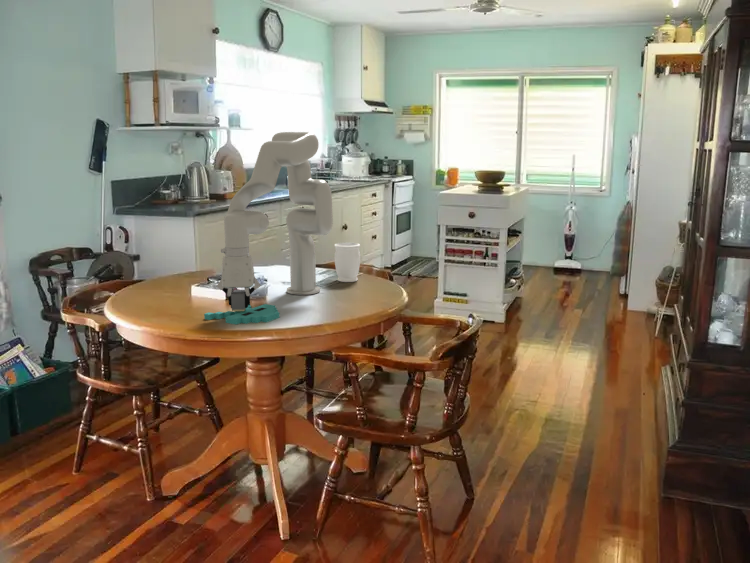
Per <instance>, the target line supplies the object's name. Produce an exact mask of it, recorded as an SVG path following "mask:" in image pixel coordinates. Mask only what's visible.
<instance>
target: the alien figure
mask: <svg viewBox="0 0 750 563" xmlns="http://www.w3.org/2000/svg"><path fill="white" fill-rule="evenodd" d="M203 315H204V316H203V317H204V320H208V321H210V320H213V319H215V320H216V319H217V320H222V319H225V323H226V324H232V325H239V324H245V325H247V324H250V323H253V324H254V323H255V324H258V323H260V322H263V323H269V322H272V321H274V320H277V319H279V318H280V312H279V310H278V308H277V307H276V305H274V304H266V303H264V304H261V305H258V306H255V307H252V305H251V304H250V305H248V308H246V309H245V311H232V310H227V311H225V312H223V311H216V312H205V313H203Z"/></svg>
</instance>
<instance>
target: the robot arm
mask: <svg viewBox="0 0 750 563" xmlns="http://www.w3.org/2000/svg"><path fill="white" fill-rule="evenodd" d="M319 144H320V143H319V139H318V137H317V136H316V135H315V134H314V133H312V132H309V131H302V132H301V131H283V132H281V131H280V132H277V133H275V134H274V135H273V136H272V139H271V140H269V141H266V142H264V143H263V144H262V145H261V146H260V149H259V152H258V154H257V158H256V161H255V165H254V168H253V171H252V174H251V177H250V178H249V180H248V181H247V182H246V183H245V184H244V185H243V186H242V187H241V188H240V189H239V190H238V191H237V192H236V193H235V194H234V196H233V197H232V198H231V200H230V202H229V206H228V209H227V213H226V215H225V216H224V218H223V223H224V224H223V226H224V230H223V231H224V248H220V253H221V254H222V253H223V254H224V256H223V257H222V264H221V279H220V280H219V282H218V283H217V285H216V287H217V289H219V290H221V291H223V292H224V293H225V295H227V297H228V306H230V309H232V304H231V294H232V293H233V291H234V288H235V289H237V288H238V289H240V288H241V289H243V288H244V290H245V292H246V294H245V308H248V305H250V306H251V294H252V293H253V292H254V291H256V290H257V289H259V288H260V287H261V284H260V282H259V281H258V280H257V278H256V276H255V268H254V262H253V257H252V255H250V238H249V237H250V236H249V235H260V234H264V232H266V231H267V230H268V227H269V225H270V221H269V217H268V216H267V215H266V214H265V213H264V212H262V211H258V210H257V211H256V210H246V209H247V207H248V206H249V204H250V203H251V202H252V201H254V200H255V199H258V198H260V197H262V196H263V195H266V194H268V193H270V192H272V191H273V190H275V188H276V185H277V182H278V179H279V176H280V171H281V169H282V167H286V170H287V185H288V188H287V189H288V197H289V200H290V202H291V203H292V204H294V205H297V206H298V205H301V206H313V207H314V208H303V207H298V208H293V209H291V210H290V211H288V213H287V215H286V219H285V220H286V221H285V222H286V227H287V232H288V238H289V239H288V240H289V266H290V267H289V269H290V273H289V274H290V286H288V287H286V293H288V294H290V295H298V296H299V295H300V296H304V295H305V296H306V295H308V296H309V295H314V294H317V293H320V291H321V288H320V287H319V286H317V279H316V278H317V277H316V276H317V273H316V271H317V270H316V244H315V241H314V239H313V237H312V236H326V235H329V234H330V233H331V231H332V229H333V224H334V223H333V222H334V221H333V220H334V219H333V198H332V195H333V194H332V189H331V186H330V185H329V183H328V182H327V181H326V180H323V179H318V178H317V179H316V178H315V179H314V178H313V177H312V169H311V168H312V167H311V164H310V161H309V160H310V159H312V158H313V157H314V156H315V155H316V154H317V152H318V149H319Z"/></svg>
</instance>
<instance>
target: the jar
mask: <svg viewBox="0 0 750 563" xmlns="http://www.w3.org/2000/svg"><path fill="white" fill-rule="evenodd" d="M334 248H335V250H334V256H333V257H334V265H335V271H336V274H337V276H338V277H337V281H339V282H342V283H353V282H357V281H358V277H357V276H358V274H359V272H360V266H361V252H360V248H361V244H360V243H359V242H358V243H356V242H337V243H334Z"/></svg>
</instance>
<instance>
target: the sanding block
mask: <svg viewBox="0 0 750 563" xmlns="http://www.w3.org/2000/svg"><path fill="white" fill-rule="evenodd" d="M245 294H246V292H245V289H233V291H232V294H231V304H232V308H231V311H232V312H235V311H245V309H246V308H245Z"/></svg>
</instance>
